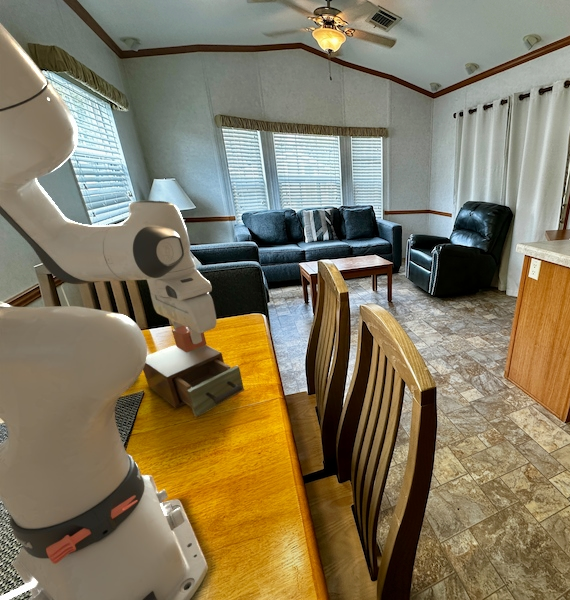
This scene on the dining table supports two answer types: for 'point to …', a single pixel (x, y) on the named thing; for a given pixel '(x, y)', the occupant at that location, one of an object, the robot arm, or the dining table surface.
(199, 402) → the drawer
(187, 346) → the block
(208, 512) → the dining table surface
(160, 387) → the cabinet
